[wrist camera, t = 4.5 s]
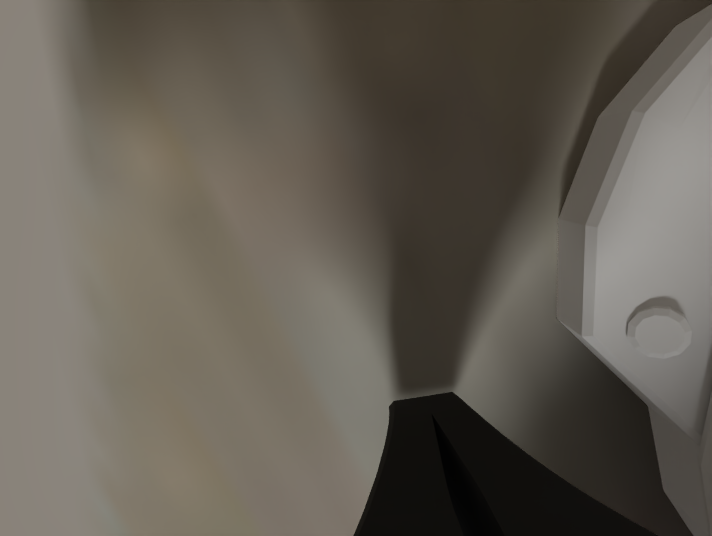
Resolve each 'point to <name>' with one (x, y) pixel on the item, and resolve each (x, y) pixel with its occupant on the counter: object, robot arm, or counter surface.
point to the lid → (652, 255)
